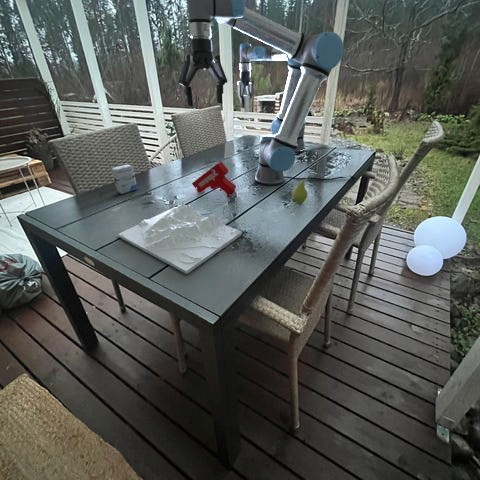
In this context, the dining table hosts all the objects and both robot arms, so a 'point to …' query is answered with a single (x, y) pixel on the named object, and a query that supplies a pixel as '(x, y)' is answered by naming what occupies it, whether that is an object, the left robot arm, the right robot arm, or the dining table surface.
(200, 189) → the toy gun
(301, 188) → the fruit
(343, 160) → the dining table surface
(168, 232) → the relief map
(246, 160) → the dining table surface
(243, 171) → the dining table surface
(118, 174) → the ink box
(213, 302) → the dining table surface
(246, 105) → the box
